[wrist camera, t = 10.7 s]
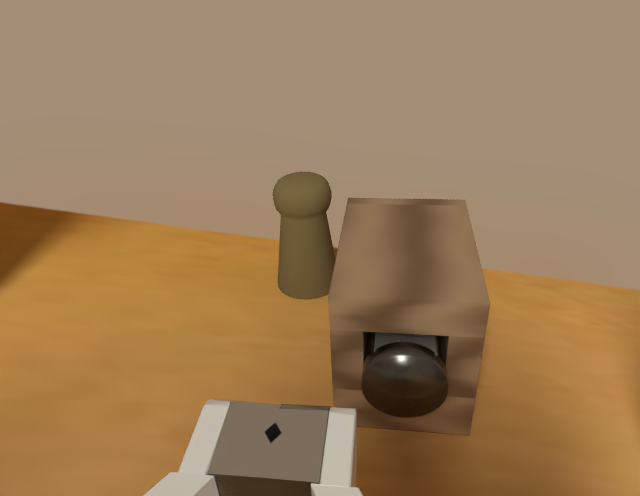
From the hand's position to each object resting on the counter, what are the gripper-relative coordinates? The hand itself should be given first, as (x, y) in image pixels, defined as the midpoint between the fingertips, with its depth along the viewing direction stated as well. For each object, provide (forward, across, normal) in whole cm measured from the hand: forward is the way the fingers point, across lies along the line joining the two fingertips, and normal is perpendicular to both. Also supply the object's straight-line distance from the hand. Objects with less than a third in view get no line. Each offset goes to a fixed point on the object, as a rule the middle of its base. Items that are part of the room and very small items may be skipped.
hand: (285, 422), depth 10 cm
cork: (+33, -5, -21) cm, 40 cm away
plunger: (+21, +3, -17) cm, 27 cm away
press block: (+22, +3, -21) cm, 30 cm away
